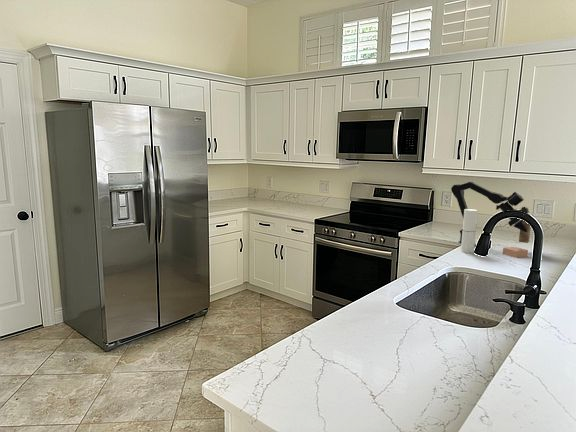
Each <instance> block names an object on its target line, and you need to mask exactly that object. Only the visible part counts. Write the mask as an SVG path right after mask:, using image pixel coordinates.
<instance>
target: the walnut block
mask: <svg viewBox="0 0 576 432" xmlns="http://www.w3.org/2000/svg"><path fill="white" fill-rule="evenodd" d="M522 223H523V225H524V227H525V228H526V230H527V232H524V231H522V230H520V229H519V237H518V243H525V244H528V243H530V235H531V228H532V226H531V227H530V225H529V224H527V223H526V222H525V221H522Z"/></svg>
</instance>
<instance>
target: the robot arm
mask: <svg viewBox="0 0 576 432" xmlns="http://www.w3.org/2000/svg"><path fill="white" fill-rule="evenodd" d="M469 189H470V190H472V191H474V192H476V193H478V194H480V195H482V196H484V197H485V198H487V199H488V200H489V201H491V202H492V203H494V204H495V205H496V207H495V210H496V211H497V210H501V212H503V211H507V210H517V211H522V212H525V213H526V214H529V213H530V211H529V208H528V207H526V206H522V207H521V209H517V208H515V207H517V206H518V205H519V204H521V203H522V202H523V201H524V197H522V195H521V194H519V193H517V192H516V191H514V192H513V193H512V194H510V195H509V196H504V194H502V193H499V192H496V191H491V190H489V189H487V188H485V187H482V186H481V185H479V184H476V183H475V182H474V181H468V182H465V183H462V184H459V183H458V184H454V185H452V187H451V188H450V190H451V193H452V195H453V196H454V197H455V198H456V201H457V204H458V207H459V210H460V213H461V216H462V221H463V220H464V209H469V208H468V205H467V203H466V200H465V199H466V198H465V191H466V190H469ZM497 204H499V205H497ZM513 206H514V207H513ZM508 219H509V221H508V225H509V226H510V227H514V228H515V229H518V230H519V231H520V230H522V231H524V232H527V230H526V228H525V227H524V225H523V223H522V221H523V220H520V219H517V218H508ZM477 224H478V223H477ZM477 224H476V226H477ZM462 231H463V228H462V229H460V230H459V233H460V237H459V240H458V243H460V244H461V243H462Z"/></svg>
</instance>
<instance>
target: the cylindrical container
mask: <svg viewBox="0 0 576 432" xmlns="http://www.w3.org/2000/svg"><path fill="white" fill-rule="evenodd" d="M477 220H478V209H474V208H473V209H471V208H468V209H464V220H463V219H462V222H463V223H462V229H463V231H462V243H460V244H461V247H460V251H461V252H462V253H466V254H474V253H475V246H476V245H475V243H476V232H477V225H476V224H478V223H477V222H478V221H477ZM473 252H474V253H473Z"/></svg>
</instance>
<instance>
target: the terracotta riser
mask: <svg viewBox="0 0 576 432" xmlns="http://www.w3.org/2000/svg"><path fill="white" fill-rule="evenodd" d="M501 254H502V255H505V256H509V257H513V258H521V257H522V258H525V257H528V254H529V250H528V249H525V248H521V247H517V246H507V247H503V248H502V253H501Z"/></svg>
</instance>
